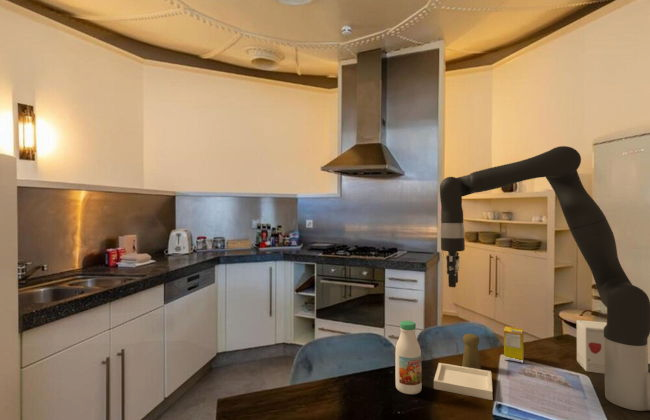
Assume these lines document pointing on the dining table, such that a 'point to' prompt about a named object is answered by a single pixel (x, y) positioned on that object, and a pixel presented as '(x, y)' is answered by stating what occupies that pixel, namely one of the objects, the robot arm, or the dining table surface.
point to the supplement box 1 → (513, 343)
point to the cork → (471, 352)
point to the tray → (464, 381)
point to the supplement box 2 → (591, 345)
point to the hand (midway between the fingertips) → (453, 284)
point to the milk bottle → (408, 360)
